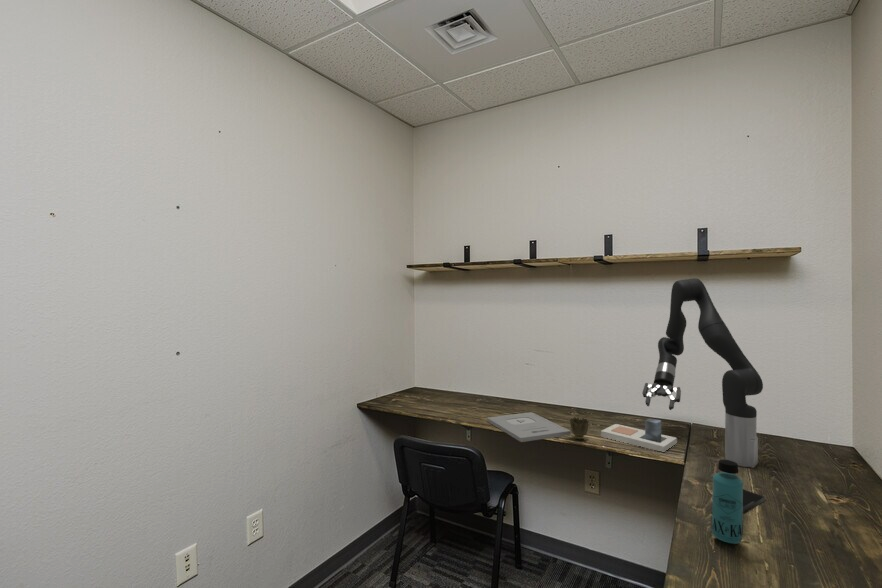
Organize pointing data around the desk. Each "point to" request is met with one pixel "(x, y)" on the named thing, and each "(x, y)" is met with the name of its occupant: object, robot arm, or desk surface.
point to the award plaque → (528, 426)
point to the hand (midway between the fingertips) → (658, 407)
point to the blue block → (653, 430)
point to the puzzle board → (637, 437)
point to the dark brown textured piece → (579, 427)
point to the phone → (751, 500)
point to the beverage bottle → (727, 503)
